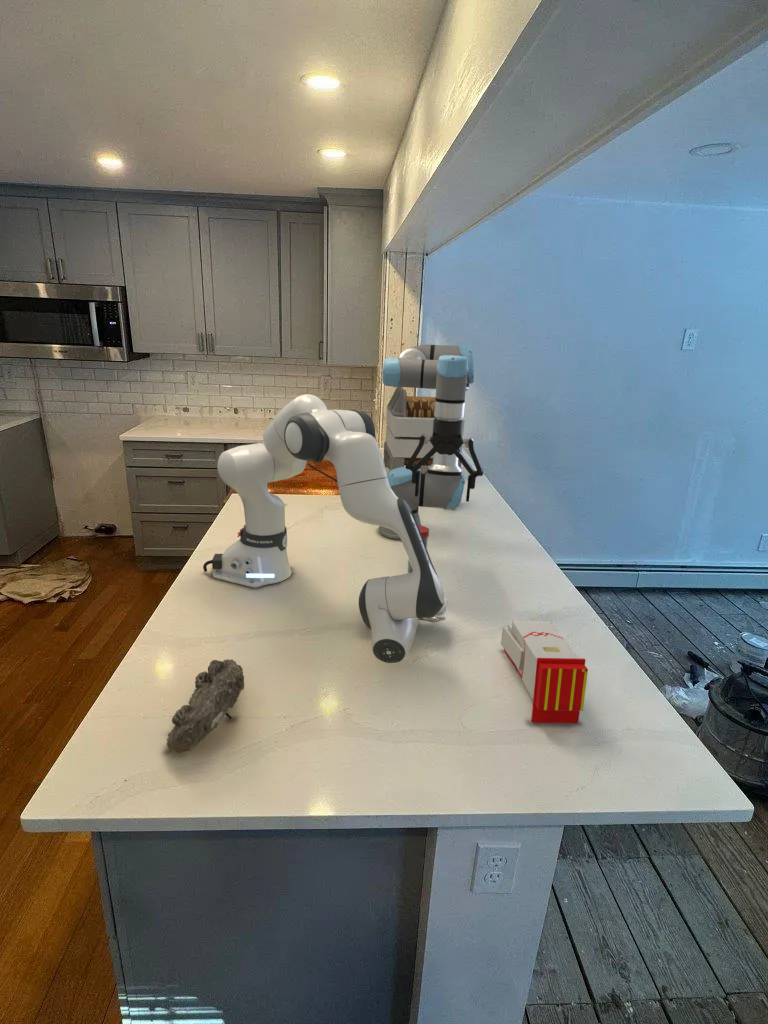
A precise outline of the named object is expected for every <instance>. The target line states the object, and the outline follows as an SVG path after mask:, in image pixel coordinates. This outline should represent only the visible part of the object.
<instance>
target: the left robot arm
mask: <svg viewBox="0 0 768 1024" xmlns="http://www.w3.org/2000/svg"><path fill="white" fill-rule="evenodd" d="M262 435H263V437H262V439H263V440H262V441H263V442H258V443H252V444H242V445H238V446H234V447H232V448H229V449H227V450H225V451H222V452H221V454H220V455H219V457H218V460H217V463H216V464H217V467H216V468H217V473H218V476H219V478H220V480H221V481H222V482H223V483H224V484H225V485H226V486H228V487H230V488H231V489H232V490H234V491H235V492H236V493H237V494H238V496H239V497H240V500H241V502H242V505H243V509H244V510H243V511H244V523H245V524H244V525H243V527H242V528H240V530H239V531H238V533H237V538H240V539H238V540H237V541H235V542H234V543H233V544H231V545H229V546H228V547H227V548H226V549H225V550H224V551H223V552H222V553H214V554H213V557H212V559H210V560H207V561H205V562H204V564H203V565H202V569H203V572H204V573H208V567H207V566H209V565H210V564H211V569H212V578H215V579H218V580H222V581H225V582H226V581H227V582H230V583H234V584H238V585H242V586H246V587H250V588H255V589H256V588H260V587H263V586H266V585H272V584H277V583H280V582H283V581H285V580H287V579H288V578H290V577H291V575H292V573H293V572H292V568H291V565H290V562H289V557H288V550H287V547H288V530H287V529H288V528H287V527H286V505H285V503H284V500H283V499H281V498H280V496H278V495H277V494H274V493H271V492H270V491H269V488H268V487H269V486H268V485H269V483H274V482H278V481H283V480H288V479H290V478H293V477H295V476H298V475H300V474H302V473H303V472H304V470H305V469H306V467H307V462H314V463H317V464H320V463H322V462H323V460H327V461H329V462H330V463H331V464H332V465H333V468H334V470H335V474H336V480H337V482H338V483H337V482H336V483H337V487H338V492H339V498H340V502H341V504H342V506H343V509H344V511H345V512H346V513H347V514H348V515H349V516H350V517H351V518H353V519H354V520H356V521H359V522H361V523H363V524H368V525H372V526H378V527H379V526H382V527H386V528H388V529H391V530H393V531H394V532H396V533H397V534H398V535H399V537H400V538H401V540H400V541H401V542H402V545H403V548H404V550H405V553H406V556H407V558H408V559H409V561H410V564H411V567H412V569H413V572H411V573H408V572H407V573H408V574H407V573H403V574H397V575H396V574H395V575H387V576H380V577H375V578H369V579H368V580H366V581H365V582H364V584H363V586H362V588H361V590H360V592H359V596H358V609H359V610H358V611H359V614H360V616H361V619H362V621H363V623H364V624H365V625H366V628H368V629H369V630H370V631H371V651H372V653H373V655H374V657H375V658H376V659H377V660H378V661H380V662H381V663H382V662H383V663H386V664H397V663H400V662H402V661H404V659H406V658H407V656H408V655H409V653H410V652H411V649H412V646H413V644H414V641H415V638H416V632H417V631H418V626H419V623H420V621H423V622H430V623H439V622H441V621H445V620H446V618H447V613H446V612H447V609H448V608H447V607H448V599H447V598H446V596H445V589H444V586H443V584H442V582H441V579H440V577H439V575H438V573H437V571H436V568H435V567H434V564H433V562H432V559H431V556H430V554H429V551H428V548H426V546H425V543H424V541H423V538H422V535H421V533H420V530H419V527H418V525H417V522H416V520H415V518H414V515H413V513H412V511H411V509H410V507H409V505H408V504H407V502H406V501H405V500H402V499H399V498H398V497H397V496H396V495H395V494H394V492H393V491H392V489H391V487H390V484H389V481H388V478H387V475H388V472H387V469H386V466H385V464H384V456H383V455H382V451H381V449H380V446H379V444H378V441H377V440H376V426H375V423H374V421H373V419H372V417H371V415H369V414H368V413H366V412H364V411H362V410H359V409H353V408H350V409H328V408H327V405H326V404H325V403H324V402H323V400H322V399H320V397H318V396H316V395H314V394H310V393H306V394H301V395H300V394H299V395H298V396H297V397H295V398H293V399H292V400H291V401H289V402H288V403H287V404H285V406H284V407H282V409H281V410H280V411H279V412H278V413H277V414H276V415H275V416H274V417H273V419H272V420H271V421H270V422H269V424H268V425H267V426H266V427H265V429H264V430H263V434H262ZM408 559H407V560H408Z"/></svg>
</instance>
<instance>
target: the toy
mask: <svg viewBox="0 0 768 1024" xmlns="http://www.w3.org/2000/svg"><path fill="white" fill-rule="evenodd" d="M500 645H501V646H502V648H503V652H504V654H505V655H506V657H507V658H508V660H509V661H510V663H511V664H512V666H513V668H514V669H515V671H516V672H517V674H518V676H519V677H520V679H521V680H522V683H523V685H524V686H525V688H526V690H527V692H528V694H529V696H530V697H531V699H532V708H531V719H530V722H531V723H532V724H579V719H580V712H583V711H584V706H585V697H586V689H587V680H588V671H589V669H588V667H587V666H586V659H585V658H580V657H579V656H578V655H577V654H576V652H575V651H574V650H573V648H572V647H571V646H570V645H569V644H568V642H567V641H566V640H565V638H564V637H563V636H562V634H561V633H560V632H559V631H558V630H557V628H556V627H555V626H554V624H553V623H552V622H551V621H549V620H548V621H545V620H540V621H539V620H511V622H508V623H507V626H502V632H501V638H500Z"/></svg>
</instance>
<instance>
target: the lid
mask: <svg viewBox="0 0 768 1024" xmlns="http://www.w3.org/2000/svg"><path fill="white" fill-rule="evenodd" d="M418 527H419V530H420V533H421V535H422V538H427V537H428V538H429V536H430V529H429V528H428V526H424V525H422V526H419V525H418ZM428 538H427V539H428Z"/></svg>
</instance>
